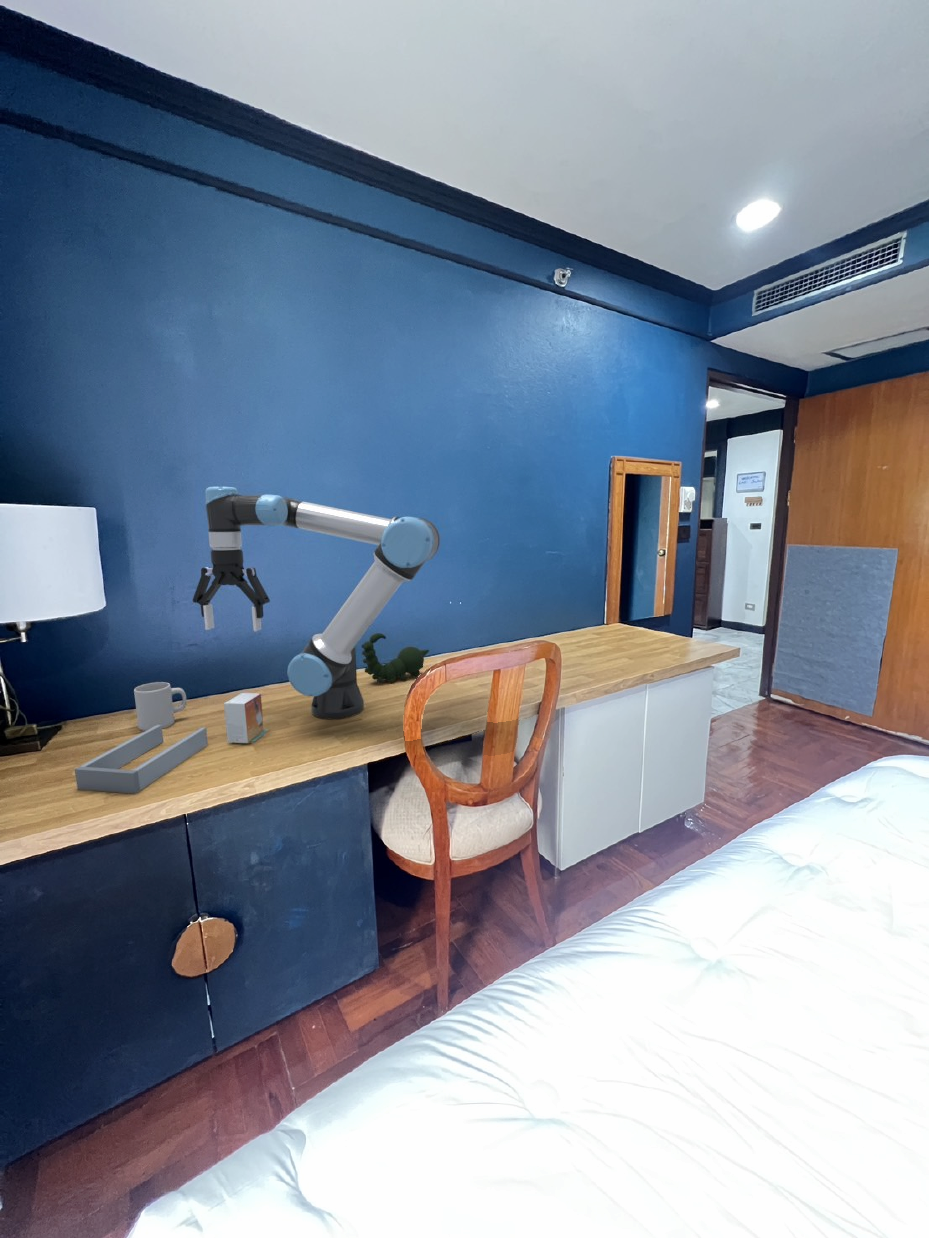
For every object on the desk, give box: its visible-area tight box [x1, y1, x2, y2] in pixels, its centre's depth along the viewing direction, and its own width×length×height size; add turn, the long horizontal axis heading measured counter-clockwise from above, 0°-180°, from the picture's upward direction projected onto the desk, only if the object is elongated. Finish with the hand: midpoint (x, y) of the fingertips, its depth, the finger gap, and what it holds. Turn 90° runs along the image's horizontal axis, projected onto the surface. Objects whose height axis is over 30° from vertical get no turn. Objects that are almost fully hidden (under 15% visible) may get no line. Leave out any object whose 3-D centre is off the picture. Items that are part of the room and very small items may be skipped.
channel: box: [74, 725, 209, 795], centre depth 113 cm, size 13×23×4 cm, turn 172°
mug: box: [133, 681, 187, 732], centre depth 136 cm, size 12×8×11 cm
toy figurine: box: [361, 632, 430, 684], centre depth 175 cm, size 9×19×25 cm
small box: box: [223, 692, 265, 744], centre depth 127 cm, size 8×6×10 cm
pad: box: [249, 729, 269, 744], centre depth 129 cm, size 7×7×1 cm
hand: (233, 629), depth 132 cm, fingers open, 13 cm apart
